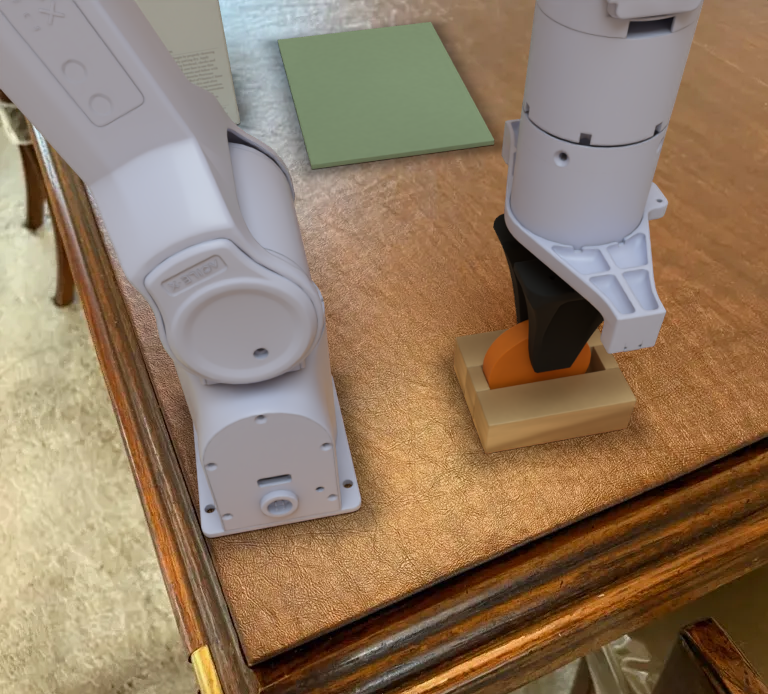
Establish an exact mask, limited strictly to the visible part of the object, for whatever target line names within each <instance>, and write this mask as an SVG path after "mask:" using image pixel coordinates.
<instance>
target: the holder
mask: <svg viewBox="0 0 768 694" xmlns="http://www.w3.org/2000/svg"><path fill="white" fill-rule="evenodd" d="M508 329H509V328H503V329H498V330H492V331H485V332H479V333H473V334H466V335H461V336H460V335H459V336H456V337H455V338H454V339H455V340H454V355H453V366H452V367H453V370H454V372H455V375H456V378H457V380H458V384H459V387H460V388H461V392H462V395H463V397H464V400H465V402H466V405H467V408H468V411H469V413H470V417H471V419H472V421H473V424H474V428H475V430H476V432H477V433H476V434H477V435H478V438H479V441H480V444H481V446H482V449H483V452H484V454H486V455H488V454H492V453H497V452H503V451H510V450H514V449H520V448H526V447H531V446H537V445H543V444H547V443H553V442H560V441H565V440H570V439H575V438H582V437H587V436H592V435H598V434H604V433H608V432H615V431H620V430H625V429H628V425H629V423H630V420H631V417H632V415H633V411H634V409H635V406H636V403H637V397H636V395H635V394H634V392H633V390H632V388H631V386H630V384H629V383H628V380H627V379H626V377H625V376H624V374H623V372H622V370H621V368H620V365H619V363H618V362H617V360H616V358H615V356H614V355H613V354H614V353H612V354H608V353H607V351H606V349H605V348H604V346H603V344H602V342H601V340H600V336H601V333H602V332H601V331H600V329H599V327H598V328H597V329H596V330H595V332H594V333H593V334H592V336H591V337H590V338H589V340H588V341H587V343H588V345H589V347H590V351H591V359H590V363H589V366H588V368H587V370H586V372H585V374H580V375H574V376H568V377H562V378H556V379H550V380H545V381H539V382H533V383H527V384H521V385H515V386H509V387H504V388H498V389H492V390H490V388H489V385H488V383H487V380H486V378H485V375H484V373H483V361H484V357H485V355H486V353H487V351H488V349H489V347H490V346H491V345H492V343H493V342H494V341H495V340H496V339H497V338H498V337H499V336H500V335H501V334H503V333H504V332H505V331H507V330H508Z"/></svg>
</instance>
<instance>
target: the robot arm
mask: <svg viewBox="0 0 768 694" xmlns="http://www.w3.org/2000/svg"><path fill="white" fill-rule="evenodd" d="M704 3H705V0H535V3H534V11H533V19H532V27H531V34H530V35H531V36H530V43H529V51H528V59H527V66H526V73H525V74H526V75H525V83H524V90H523V91H524V92H523V98H522V103H521V112H520V118H515V119H507V120H505V121H504V129H503V137H502V147H501V158H502V159H503V161H504V163H505V164H506V165H507V176H506V186H505V198H504V199H505V200H504V209H503V210H504V211H503V213H502V214H499V215H498V216H497V217H496V218H494V220H493V226H492V228H493V230H494V232H495V234H496V237H497V239H498V241H499V243H500V245H501V247H502V250H503V253H504V256H505V259H506V263H507V266H508V270H509V274H510V279H511V284H512V291H513V297H514V300H513V301H514V308H515V309H514V310H515V318H516V325H517V324H519V323H521V322H523V321H526V320H529V333H528V350H529V358H530V362H531V365H532V367H533V370H534V372H536V373H541V372H547V371H553V370H559V369H565V368H570V367H571V366H572V364H573V363H574V361H575V360H576V358H577V357H578V355H579V354H580V352H581V350H582V349H583V347H584V346H585V344H586V343H587V341H588V340H589V338H590V337H591V336H592V334H593V333H594V332H595V330H596V329H597V328H598V329H599V327H600V326H601V325H602V324H603V326H602V329H601V332H600V333H601V336H600V340H601V342H602V344H603V346H604V348H605V349H606V351H607V353H608V354H617V353H628V352H633V351H638V350H641V349H642V350H643V349H647V348H653V347H655V345H656V342H657V339H658V337H659V334H660V331H661V328H662V326H663V325H662V324H663V323H664V319H665V317H666V315H667V310H666V308H665V307H664V304H663V302H662V301H661V299H660V297H659V294H658V291H657V287H656V282H655V275H654V266H653V265H654V264H653V254H652V243H651V232H650V222H649V221H654V220H659V219H661V218H662V219H663V217H664V216H665V215H666V211H667V210H668V209H667V208H668V205H669V201H668V199H667V197H666V196H665V195H664V193H663V192H662V190H661V189H660V187H659V186H658V184H656V183H655V182H654V181H653V180H654V178H655V173H656V170H657V166H658V163H659V160H660V156H661V153H662V150H663V146H664V142H665V138H666V135H667V131H668V128H669V125H670V120H671V119H672V114H673V111H674V108H675V104H676V100H677V97H678V94H679V91H680V87H681V82H682V79H683V76H684V72H685V68H686V66H687V61H688V59H689V55H690V51H691V47H692V44H693V40H694V37H695V34H696V31H697V27H698V23H699V20H700V16H701V13H702V9H703V5H704ZM0 90H1V91H2V92H3V94H4V95H5V96H6V97H7V98H8V99H9V100H10V101H11V102H12V103H13V105H14V106H15V107H16V108H17V109H18V110H19V111H20V113H22V115H23V116H24V117H25V118H26V119H27V121H28V122H30V124H31V125H32V126H33V127H34V128H35V129H36V130H37V131H38V133H39V134H40V135H41V136H42V137H43V138H44V139H45V141H46V142H47V143H48V144H49V145H50V146H51V147H52V148H53V149H54V150H55V152H56V153H57V154H58V155H59V156H60V157H61V158H62V160H63V161H64V162H65V163H66V164H67V165H68V166H69V168H70V169H71V170H72V171H73V172H74V173H75V174H76V175H77V176H78V178H80V180H81V181H82V182H83V183H84V184H85V185H86V186H87V188H88V190H89V192H90V194H91V196H92V198H93V201H94V202H95V205H96V208H97V210H98V212H99V216H100V218H101V220H102V223H103V225H104V228H105V231H106V233H107V236H108V239H109V241H110V244H111V245H112V248H113V251H114V253H115V255H116V258H117V261H118V263H119V265H120V268H121V270H122V272H123V274H124V277H125V279H126V280H127V282H128V283H129V284H130V285H131V286H132V287H133V288H134V289H135V290H136V291H137V292H138V293H139V294H140V295H141V297H142V298H143V299H144V300H145V301H146V302H147V304H148V305H149V307H150V309H151V310H152V312H153V316H154V318H155V322H156V328H157V332H158V333H157V335H158V339H159V341H160V342H161V345H162V347H163V349H164V351H165V352H166V353H167V355H168V357H169V358H170V359H171V360H172V362H173V365H174V369H175V371H176V374H177V378H178V380H179V383H180V387H181V389H182V392H183V395H184V399H185V402H186V405H187V408H188V411H189V414H190V417H191V421H192V428H193V440H194V441H193V442H194V452H195V453H194V454H195V465H196V479H197V490H198V502H199V515H200V527H201V531H202V533H203V535H204V536H205V537H207V538H209V539H210V538H218V537H223V536H229V535H234V534H235V535H236V534H241V533H247V532H252V531H256V530H262V529H266V528H272V527H279V526H282V525H289V524H294V523H299V522H305V521H310V520H316V519H320V518H326V517H332V516H338V515H342V514H348V513H354V512H356V511H358V510H359V509H360V508H361V507H362V496H361V491H360V488H359V484H358V479H357V475H356V470H355V466H354V461H353V457H352V453H351V449H350V444H349V441H348V436H347V432H346V427H345V423H344V419H343V415H342V410H341V406H340V401H339V398H338V394H337V389H336V388H337V387H336V384H335V379H334V376H333V375H332V367H331V358H330V357H331V356H330V347H329V338H328V329H327V320H326V310H325V308H326V307H325V301H324V297H323V294H322V292H321V290H320V288H319V287H318V285H317V284H316V283H315V282H314V281H313V278H312V275H311V272H310V271H311V270H310V266H309V262H308V257H307V255H306V248H305V244H304V240H303V237H302V233H301V227H300V224H299V219H298V214H297V211H296V210H297V209H296V206H295V198H296V192H295V188H294V182H293V178H292V175H291V173H290V170H289V168H288V167H287V165H286V163H285V162H284V160H283V159H282V158H281V157H280V155H279V154H278V153H277V152H276V151H275V150H274V149H273V148H272V147H270V146H269V145H268V144H266V143H265V142H263V141H262V140H260V139H259V138H257V137H255V136H254V135H251V134H250V133H248V132H246V131H245V130H243V129H242V128H241V127H239V125H238V124H235V123H234V122H233V121H232V120H231V119H230V117H229V116H228V115H227V113H226V112H225V111H224V109H223V108H222V106H221V104H220V103H219V101H218V100H217V98H216V97H215V96H214V95H213V94H212V93H210V92H209V91H207V90H205V89H203V88H201V87H199V86H196V85H194V84H193V83H191V82H190V81H189V80H188V79H187V78H186V76H185V75H184V73H183V72H182V70H181V69H180V67H179V66H178V64H177V63H176V61H175V60H174V58H173V57H172V55H171V54H170V53H169V51H168V50H167V48H166V47H165V45H164V44H163V42H162V41H161V39H160V38H159V36H158V35H157V33H156V32H155V30H154V29H153V27H152V26H151V24H150V23H149V21H148V20H147V18H146V17H145V15H144V14H143V12H142V11H141V9H140V8H139V6H138V5H137V3H136V2H135V0H0ZM346 485H350V487H345V486H346ZM209 510H213V511H212V512H208V511H209Z"/></svg>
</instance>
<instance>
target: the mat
mask: <svg viewBox="0 0 768 694" xmlns="http://www.w3.org/2000/svg"><path fill="white" fill-rule="evenodd" d="M277 45H278V48H279V53H280V56H281V60H282V63H283V67H284V71H285V75H286V79H287V82H288V83H287V84H288V87H289V90H290V93H291V98H292V101H293V105H294V108H295V109H294V110H295V112H296V116H297V120H298V124H299V127H300V131H301V135H302V138H303V142H304V146H305V149H306V153H307V157H308V160H309V164H310V168H311V170H317V169H324V168H325V169H326V168H332V167H338V166H346V165H354V164H355V165H356V164H360V163H369V162H375V161H383V160H390V159H391V160H392V159H399V158H406V157H414V156H420V155H428V154H435V153H443V152H449V151H450V152H451V151H458V150H465V149H473V148H478V147H487V146H494V145H495V139H494V137H493V134H492V132H491V131H490V129H489V128H488V125H487V123H486V122H485V120H484V118H483V116H482V114H481V112H480V111H479V109H478V106H477V105H476V103H475V101H474V99H473V98H472V95H471V93H470V91H469V90H468V88H467V86H466V85H465V83H464V81H463V78H462V77H461V75H460V73H459V72H458V69H457V68H456V66H455V64H454V62H453V60H452V58H451V57H450V55H449V53H448V52H447V50H446V47H445V45H444V43H443V42H442V39H441V38H440V36H439V34H438V33H437V30H436V29H435V27H434V25H433V23H432V22H431V21H426V22H418V23H410V24H401V25H392V26H391V25H390V26H385V27H376V28H375V27H374V28H367V29H359V30H358V29H357V30H350V31H349V30H347V31H339V32H333V33H322V34H315V35H306V36H299V37H298V36H297V37H288V38H281V39H277Z"/></svg>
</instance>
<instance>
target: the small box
mask: <svg viewBox="0 0 768 694" xmlns="http://www.w3.org/2000/svg"><path fill="white" fill-rule="evenodd" d="M135 2H136V3H137V5H138V6H139V8H140V9H141V11H142V12H143V14H144V15H145V17H146V18H147V20H148V21H149V23H150V24H151V26H152V27H153V29H154V30H155V32H156V33H157V35H158V36H159V38H160V39H161V41H162V42H163V44H164V45H165V47H166V48H167V50H168V51H169V53H170V54H171V55H172V57H173V58H174V60H175V61H176V63H177V64H178V66H179V67H180V69H181V70H182V72H183V73H184V75H185V76H186V78H187V79H188V80H189V81H190V82H191V83H193V84H194V85H196V86H199V87H201V88H203V89H205V90H207V91H209V92H210V93H212V94H213V95H214V96H215V97H216V98H217V100H218V101H219V103H220V104H221V106H222V108H223V109H224V111H225V112H226V113H227V115H228V116H229V117H230V119H231V120H232V121H233V122H234V123H235V124H236V125H239V124H241V117H240V111H239V107H238V101H237V96H236V91H235V85H234V80H233V74H232V68H231V63H230V58H229V52H228V50H229V49H228V45H227V39H226V34H225V28H224V23H223V18H222V13H221V12H222V11H221V5H220V2H219V0H135Z"/></svg>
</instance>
